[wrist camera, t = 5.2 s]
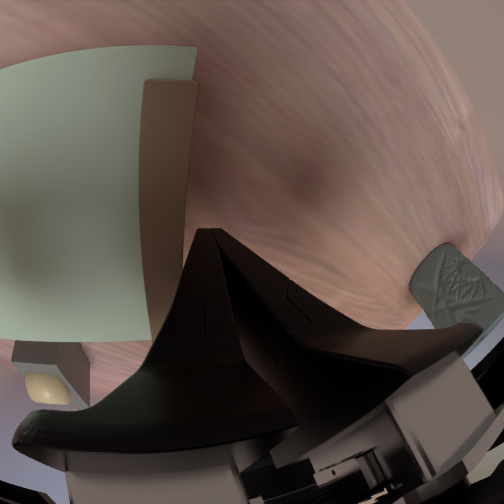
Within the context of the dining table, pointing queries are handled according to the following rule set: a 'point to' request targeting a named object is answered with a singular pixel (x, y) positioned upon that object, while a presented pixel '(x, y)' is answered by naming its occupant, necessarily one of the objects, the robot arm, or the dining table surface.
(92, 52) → the lid
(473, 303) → the grey-green cup
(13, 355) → the tape dispenser
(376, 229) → the dining table surface
